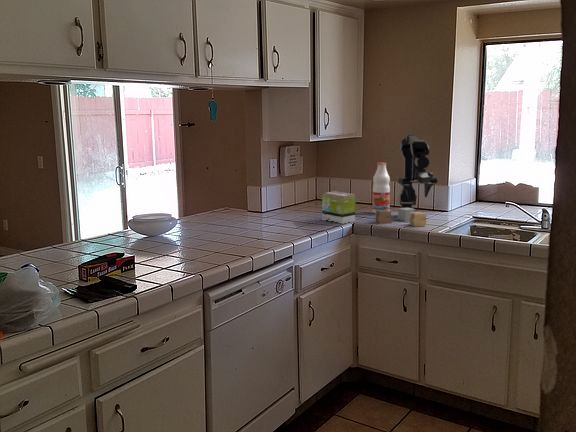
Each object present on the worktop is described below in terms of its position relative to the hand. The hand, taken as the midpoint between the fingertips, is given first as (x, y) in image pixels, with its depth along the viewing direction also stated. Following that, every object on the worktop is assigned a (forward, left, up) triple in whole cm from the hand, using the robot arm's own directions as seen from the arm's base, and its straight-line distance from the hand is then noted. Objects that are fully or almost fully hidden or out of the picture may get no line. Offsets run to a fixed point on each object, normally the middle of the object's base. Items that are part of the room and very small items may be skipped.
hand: (417, 197), depth 288 cm
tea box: (-19, -35, -14) cm, 42 cm away
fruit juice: (-36, -5, -14) cm, 39 cm away
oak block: (+1, 0, -14) cm, 14 cm away
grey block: (-13, 0, -14) cm, 19 cm away
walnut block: (-10, -14, -14) cm, 22 cm away
